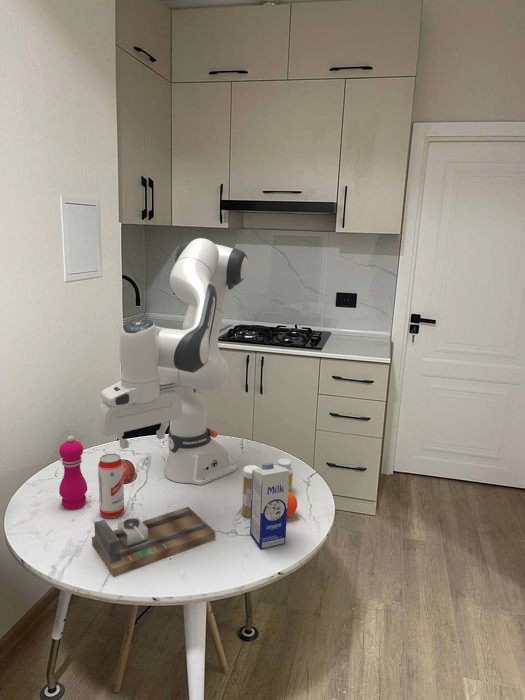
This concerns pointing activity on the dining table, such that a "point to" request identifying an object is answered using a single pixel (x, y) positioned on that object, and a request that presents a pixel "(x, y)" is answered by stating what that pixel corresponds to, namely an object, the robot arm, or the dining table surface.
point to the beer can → (111, 485)
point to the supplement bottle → (287, 464)
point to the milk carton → (269, 505)
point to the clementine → (291, 504)
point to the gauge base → (151, 540)
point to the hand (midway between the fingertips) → (142, 442)
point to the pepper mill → (72, 475)
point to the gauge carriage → (132, 532)
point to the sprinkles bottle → (247, 489)
